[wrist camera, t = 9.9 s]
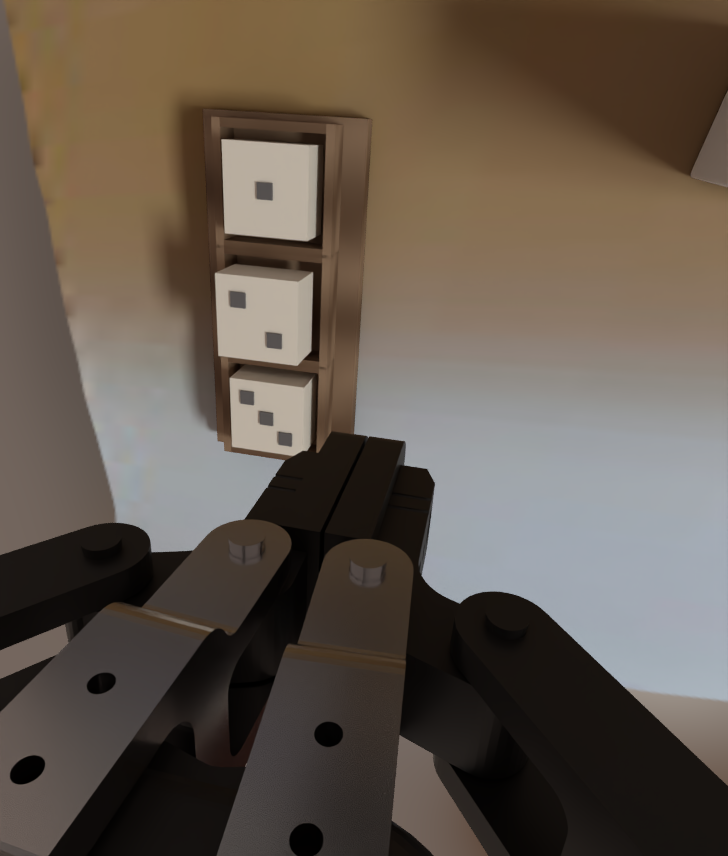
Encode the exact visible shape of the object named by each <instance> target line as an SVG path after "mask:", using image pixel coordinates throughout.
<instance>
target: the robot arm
mask: <svg viewBox="0 0 728 856" xmlns="http://www.w3.org/2000/svg"><path fill="white" fill-rule="evenodd" d="M405 449H406V443H405V441H398V440H391V439H384V438H377V437H369V438H368V437H367V436H363V435H356V434H349V433H342V432H335V431H332V432H331V433H330V434H329V436H328V438H327V439H326V441H325V443H324V444H323V446H322V448H321V449H320V451H319V453H316V452H310V451H301V452H300V453H298V454H296V455H294V456H293V457H291V458H289V459H287V460H285V462H284V463H283V465H282V466H281V467H280V469H279V470H278V472H277V473H276V477H274V478H273V479H272V480H271V482H270V483H269V485H268V488H266V489H265V491H264V492H263V493H262V495H261V496H260V498H259V499H258V501H257V502H256V504H255V505H254V506H253V508H252V509H251V511H250V512H249V514H248V515H247V517H246V518H245V519H244V520H238V521H233V522H229V523H226V524H223V525H221V526H219V527H217V528H216V529H214V530H213V531H211V532H210V533H209V534H208V535H207V536H206V537H205V538H204V539H203V540H202V542H201V543H200V544H199V545H198V546H197V547H196V548H195V549H194V550H193V551H178V552H151V543H150V538H149V536H148V535H147V533H146V532H145V531H144V530H142V529H140V528H139V527H136V526H133V525H129V524H124V523H105V524H98V525H94V526H90V527H86V528H83V529H80V530H77V531H74V532H71V533H68V534H65V535H61V536H59V537H55V538H52V539H49V540H46V541H43V542H40V543H37V544H34V545H30V546H27V547H24V548H21V549H18V550H15V551H12V552H9V553H6V554H2V555H0V650H2V649H4V648H7V647H9V646H12V645H14V644H16V643H19V642H22V641H24V640H27V639H29V638H32V637H34V636H37V635H39V634H41V633H44V632H46V631H49V630H51V629H54V628H56V627H59V626H61V625H64V624H65V626H66V632H67V637H68V642H69V643H68V644H67V645H66V646H65V647H64V648H63V649H62V650H61V651H60V652H59V653H58V654H57V655H55V656H53V657H50V658H48V659H46V660H44V661H41V662H39V663H37V664H34V665H32V666H29V667H27V668H25V669H22V670H20V671H18V672H15V673H13V674H11V675H9V676H6V677H4V678H1V679H0V856H433V855H432V854H431V852H430V851H429V850H428V849H426V848H425V847H424V846H423V845H422V844H421V843H420V842H419V841H418V840H417V839H416V838H414V837H413V836H412V835H411V834H410V833H408V832H407V831H405V830H404V829H403V828H401V827H400V826H398V825H397V824H396V823H394V822H393V821H392V810H393V799H394V788H395V777H396V766H397V755H398V745H399V735H401V736H402V737H404V738H406V739H408V740H409V741H411V742H413V743H415V744H417V745H418V746H420V747H422V748H424V749H425V750H427V751H429V752H431V753H433V760H434V766H435V769H436V772H437V774H438V776H439V778H440V779H441V781H442V783H443V784H444V786H445V788H446V789H447V791H448V792H449V794H450V796H451V797H452V799H453V800H454V802H455V803H456V805H457V807H458V808H459V810H460V811H461V812H462V814H463V816H464V818H465V819H466V821H467V822H468V824H469V826H470V827H471V829H472V830H473V832H474V834H475V835H476V837H477V838H478V840H479V841H480V843H481V845H482V846H483V848H484V849H485V851H486V852H487V854H488V856H728V786H727V785H726V784H725V783H724V782H723V781H722V780H721V779H720V778H719V777H718V776H717V775H716V774H714V773H713V772H712V771H711V770H710V769H709V768H708V767H707V766H706V765H705V764H704V763H703V762H702V761H701V760H700V759H699V758H697V756H696V755H694V753H692V752H691V751H690V750H689V749H688V748H687V747H686V746H685V745H684V744H683V743H682V742H681V741H680V740H679V739H678V738H677V737H676V736H675V735H673V734H672V733H671V732H670V731H669V730H668V729H667V728H666V727H665V726H664V725H663V724H662V723H661V722H660V721H659V720H658V719H657V718H656V717H655V716H654V715H653V714H652V713H651V712H649V711H648V710H647V709H646V708H645V707H644V706H643V705H642V704H641V703H640V702H639V701H638V700H637V699H636V698H635V697H634V696H633V695H632V694H631V693H630V692H628V691H627V690H626V689H625V688H624V687H623V686H622V685H621V684H620V683H619V682H618V681H617V680H616V679H615V678H614V677H613V676H612V675H611V674H610V673H609V672H608V671H606V670H605V669H604V668H603V667H602V666H601V665H600V664H599V663H598V662H597V661H596V660H595V659H594V658H593V657H592V656H591V655H590V654H589V653H588V652H587V651H585V650H584V649H583V648H582V647H581V646H580V645H579V644H578V643H577V642H576V641H575V640H574V639H573V638H572V637H571V636H570V635H569V634H568V633H567V632H566V631H564V630H563V629H562V628H561V627H560V626H559V625H558V624H557V623H556V622H555V621H554V620H553V619H552V618H551V617H550V616H549V615H548V614H547V613H546V612H544V611H543V610H542V609H541V608H540V607H538V606H537V605H535V604H534V603H532V602H530V601H528V600H526V599H524V598H522V597H519V596H517V595H513V594H509V593H504V592H482V593H478V594H474V595H472V596H469V597H468V598H466V599H465V600H463V601H462V602H461V603H460V604H459V603H457V602H455V601H452V600H450V599H448V598H446V597H444V596H442V595H441V594H439V593H437V592H436V591H435V590H433V589H432V588H431V587H430V586H429V585H428V584H427V583H426V582H425V580H424V579H423V577H422V576H421V575H422V570H423V564H424V560H425V555H426V550H427V543H428V535H429V527H430V519H431V511H432V503H433V495H434V487H435V483H434V481H433V479H432V477H431V475H430V474H429V472H428V470H427V469H423V468H417V467H410V466H404V460H405ZM246 764H247V765H246ZM245 766H246V767H245Z"/></svg>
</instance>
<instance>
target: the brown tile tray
mask: <svg viewBox="0 0 728 856" xmlns="http://www.w3.org/2000/svg"><path fill="white" fill-rule="evenodd" d="M203 126H204V148H205V170H206V193H207V215H208V237H209V259H210V281H211V303H212V325H213V347H214V370H215V392H216V414H217V436H218V441H221V442H224V450H225V451H229V452H235V453H242V454H248V455H255V456H261V457H268V458H274V459H281V460H287V459H289V458H291V457H293V456H290V455H283V454H277V453H270V452H264V451H257V450H250V449H244V448H237V447H232V431H231V402H230V377H231V376H232V375H233V374H235V373H236V372H237V371H238V370H239V369H240V368H242V367H243V366H244V365H245V364H248V365H256V366H264V367H271V368H279V369H287V370H294V371H302V372H310V373H317V391H316V426H315V439H314V441H313V443H312V444H311V446H310V447H309V449H308V450H307V451H310V452H316V453H319V451H320V449H321V448H322V446H323V444H324V443H325V441H326V439H327V438H328V436H329V434H330V433H331V432H332V431H335V432H342V433H349V434H354V424H355V407H356V389H357V372H358V355H359V338H360V321H361V304H362V286H363V269H364V252H365V235H366V218H367V200H368V183H369V166H370V149H371V132H372V119H361V118H345V117H329V116H313V115H296V114H280V113H264V112H248V111H232V110H216V109H203ZM222 139H245V140H259V141H273V142H288V143H302V144H316V145H324V150H323V185H322V220H321V235H319V236H317V237H315V238H313V239H311V240H309V241H300V240H289V239H279V238H268V237H258V236H248V235H237V234H227V233H225V226H224V197H223V168H222ZM234 264H241V265H251V266H261V267H270V268H280V269H290V270H299V271H309V272H313V298H312V339H311V352H310V353H309V354H308V355H307V356H306V357H305V358H304V359H303V360H302V361H301V362H300V363H299V365H298V366H294V365H286V364H279V363H271V362H263V361H255V360H248V359H240V358H232V357H224V356H218V335H217V311H216V288H215V273H216V272H218V271H220V270H223V269H225V268H227V267H229V266H231V265H234Z"/></svg>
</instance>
